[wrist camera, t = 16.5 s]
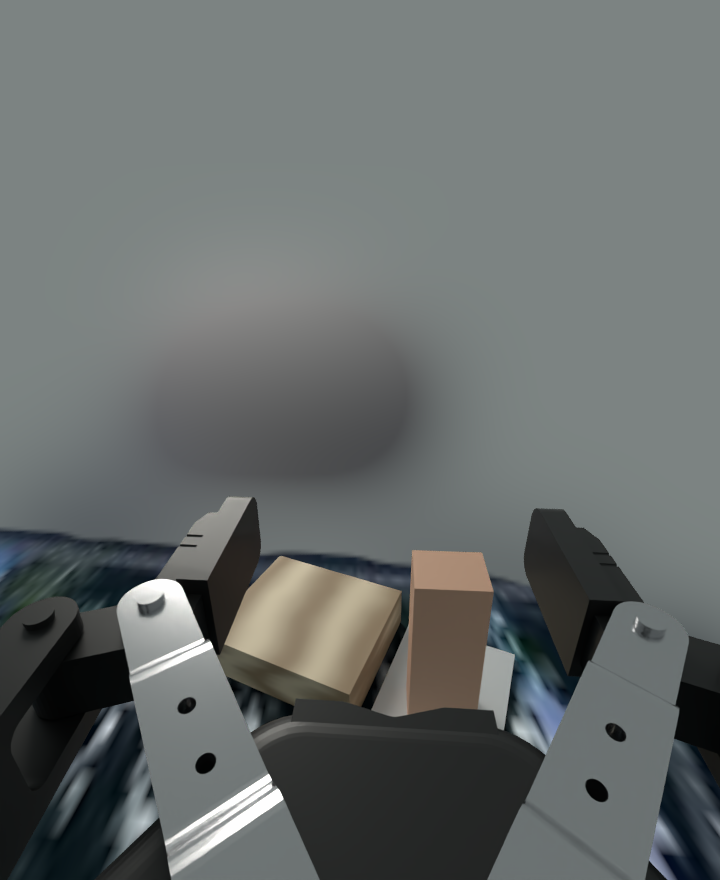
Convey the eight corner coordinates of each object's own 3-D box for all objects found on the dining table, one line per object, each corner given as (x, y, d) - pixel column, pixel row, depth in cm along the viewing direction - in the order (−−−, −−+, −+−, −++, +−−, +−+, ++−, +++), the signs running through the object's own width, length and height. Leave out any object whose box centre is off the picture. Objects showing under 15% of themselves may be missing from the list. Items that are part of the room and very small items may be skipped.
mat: (339, 788, 31) (338, 783, 31) (409, 625, 44) (410, 621, 44) (485, 860, 27) (485, 856, 27) (514, 658, 41) (514, 654, 40)
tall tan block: (407, 732, 34) (414, 588, 29) (406, 686, 38) (412, 550, 32) (473, 736, 34) (493, 591, 28) (465, 689, 37) (481, 552, 32)
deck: (209, 669, 40) (203, 635, 38) (283, 584, 50) (280, 555, 48) (350, 730, 35) (349, 694, 33) (400, 622, 45) (401, 591, 43)
